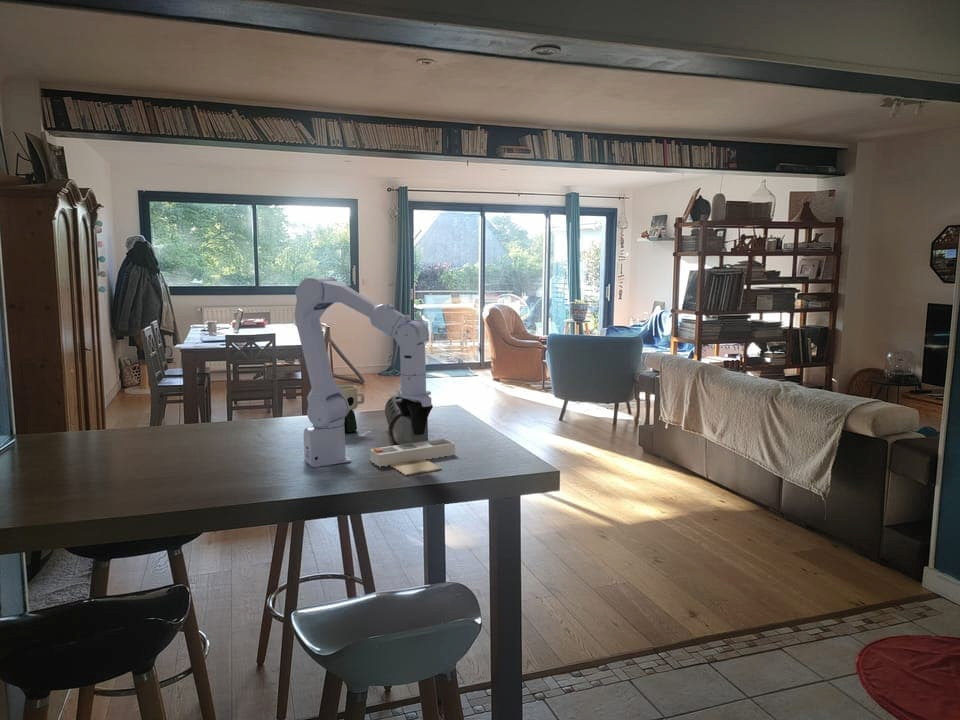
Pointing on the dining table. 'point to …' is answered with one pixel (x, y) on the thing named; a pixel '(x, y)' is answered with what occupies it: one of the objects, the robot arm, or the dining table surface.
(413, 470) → the coaster
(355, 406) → the character mug
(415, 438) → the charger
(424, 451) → the socket strip
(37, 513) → the dining table surface
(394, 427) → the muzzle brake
